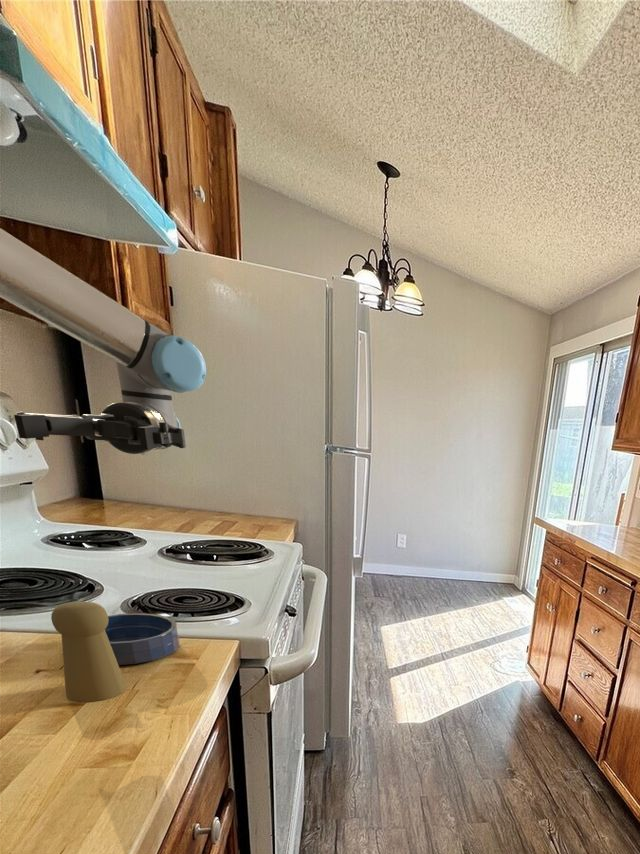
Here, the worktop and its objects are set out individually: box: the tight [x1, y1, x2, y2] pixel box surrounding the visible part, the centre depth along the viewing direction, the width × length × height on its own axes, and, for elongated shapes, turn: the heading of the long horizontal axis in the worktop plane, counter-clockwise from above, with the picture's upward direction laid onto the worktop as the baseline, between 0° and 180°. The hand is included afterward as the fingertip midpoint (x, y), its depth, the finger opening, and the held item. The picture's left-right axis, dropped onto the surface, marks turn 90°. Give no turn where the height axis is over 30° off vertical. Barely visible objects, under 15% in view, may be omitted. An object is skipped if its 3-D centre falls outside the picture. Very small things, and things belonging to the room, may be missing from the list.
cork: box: [50, 600, 128, 703], centre depth 65 cm, size 6×6×11 cm
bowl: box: [105, 612, 180, 666], centre depth 78 cm, size 12×12×4 cm
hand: (83, 432), depth 72 cm, fingers open, 13 cm apart
